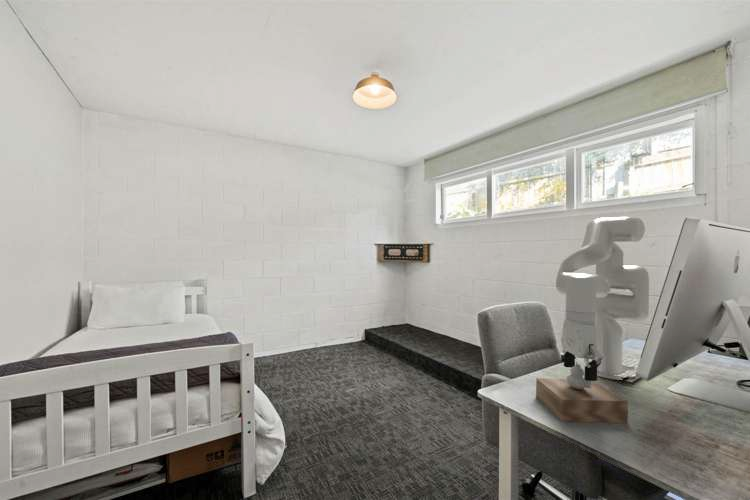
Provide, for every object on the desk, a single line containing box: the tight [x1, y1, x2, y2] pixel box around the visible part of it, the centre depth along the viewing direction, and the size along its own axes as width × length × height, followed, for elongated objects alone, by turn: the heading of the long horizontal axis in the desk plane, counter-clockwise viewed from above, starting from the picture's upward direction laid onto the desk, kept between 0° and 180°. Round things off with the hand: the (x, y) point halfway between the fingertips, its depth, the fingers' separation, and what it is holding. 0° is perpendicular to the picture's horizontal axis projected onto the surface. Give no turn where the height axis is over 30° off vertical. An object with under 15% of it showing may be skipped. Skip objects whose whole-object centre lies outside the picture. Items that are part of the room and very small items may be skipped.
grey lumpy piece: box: [566, 361, 592, 389], centre depth 91 cm, size 5×7×8 cm
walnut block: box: [535, 377, 629, 424], centre depth 92 cm, size 18×14×6 cm
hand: (579, 373), depth 92 cm, fingers open, 9 cm apart
